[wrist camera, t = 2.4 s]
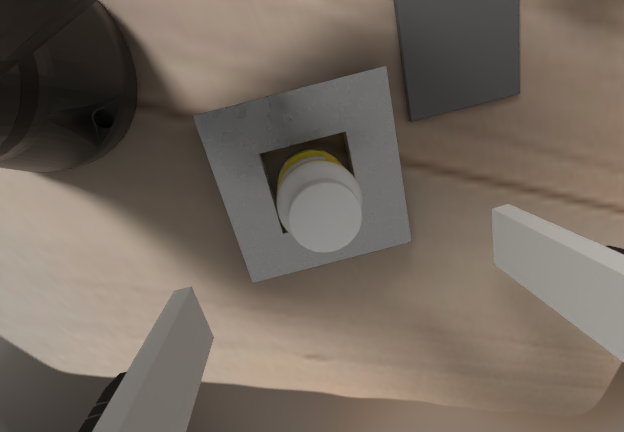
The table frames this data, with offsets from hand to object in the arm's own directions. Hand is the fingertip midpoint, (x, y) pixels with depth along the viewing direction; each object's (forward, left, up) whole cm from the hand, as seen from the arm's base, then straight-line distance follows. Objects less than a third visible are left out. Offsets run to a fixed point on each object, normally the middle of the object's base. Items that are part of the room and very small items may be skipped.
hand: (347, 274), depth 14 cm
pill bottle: (0, 0, -18) cm, 18 cm away
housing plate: (0, 0, -18) cm, 18 cm away
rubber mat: (+15, +8, -18) cm, 24 cm away
